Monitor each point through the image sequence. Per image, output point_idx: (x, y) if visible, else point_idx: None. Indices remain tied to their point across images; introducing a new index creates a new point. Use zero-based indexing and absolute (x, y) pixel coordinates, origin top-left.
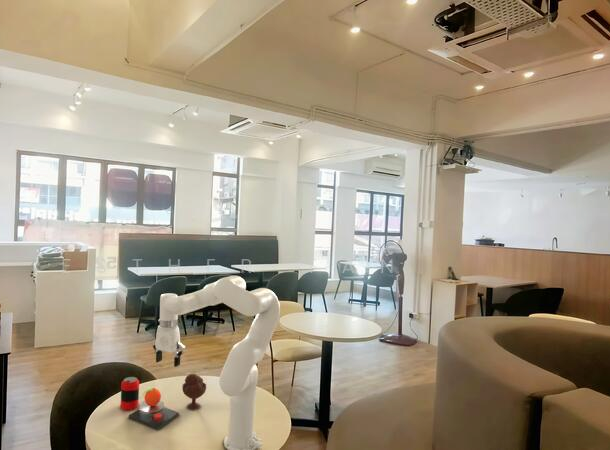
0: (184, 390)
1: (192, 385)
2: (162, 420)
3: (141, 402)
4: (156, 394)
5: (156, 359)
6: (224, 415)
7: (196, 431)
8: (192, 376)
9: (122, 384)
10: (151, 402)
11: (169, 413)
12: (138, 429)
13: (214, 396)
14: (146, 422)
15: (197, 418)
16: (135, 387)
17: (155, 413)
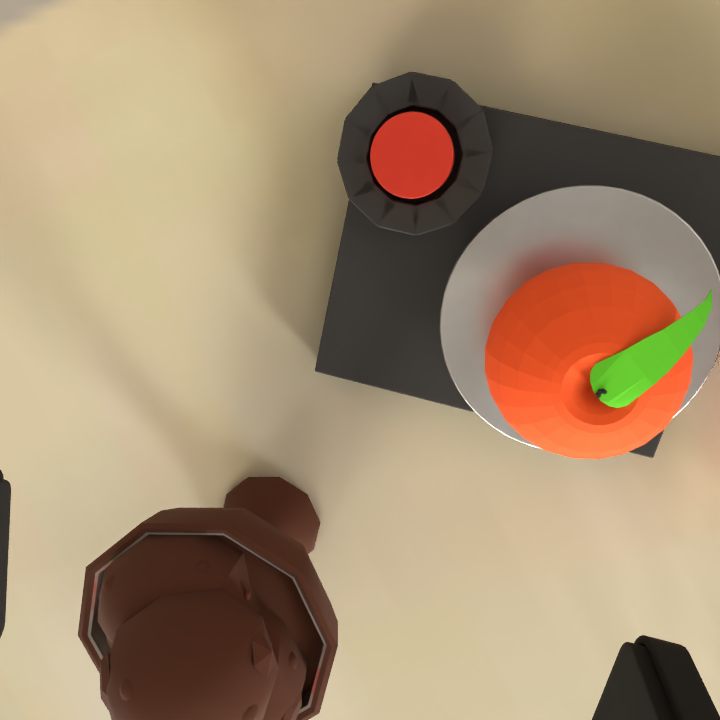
0: (269, 542)
1: (157, 584)
2: (350, 131)
3: (715, 349)
4: (520, 336)
5: (695, 704)
6: (8, 469)
7: (83, 191)
8: (140, 689)
9: None
10: (553, 268)
11: (382, 328)
12: (560, 24)
13: None
14: (521, 115)
15: (163, 370)
16: None
17: None
